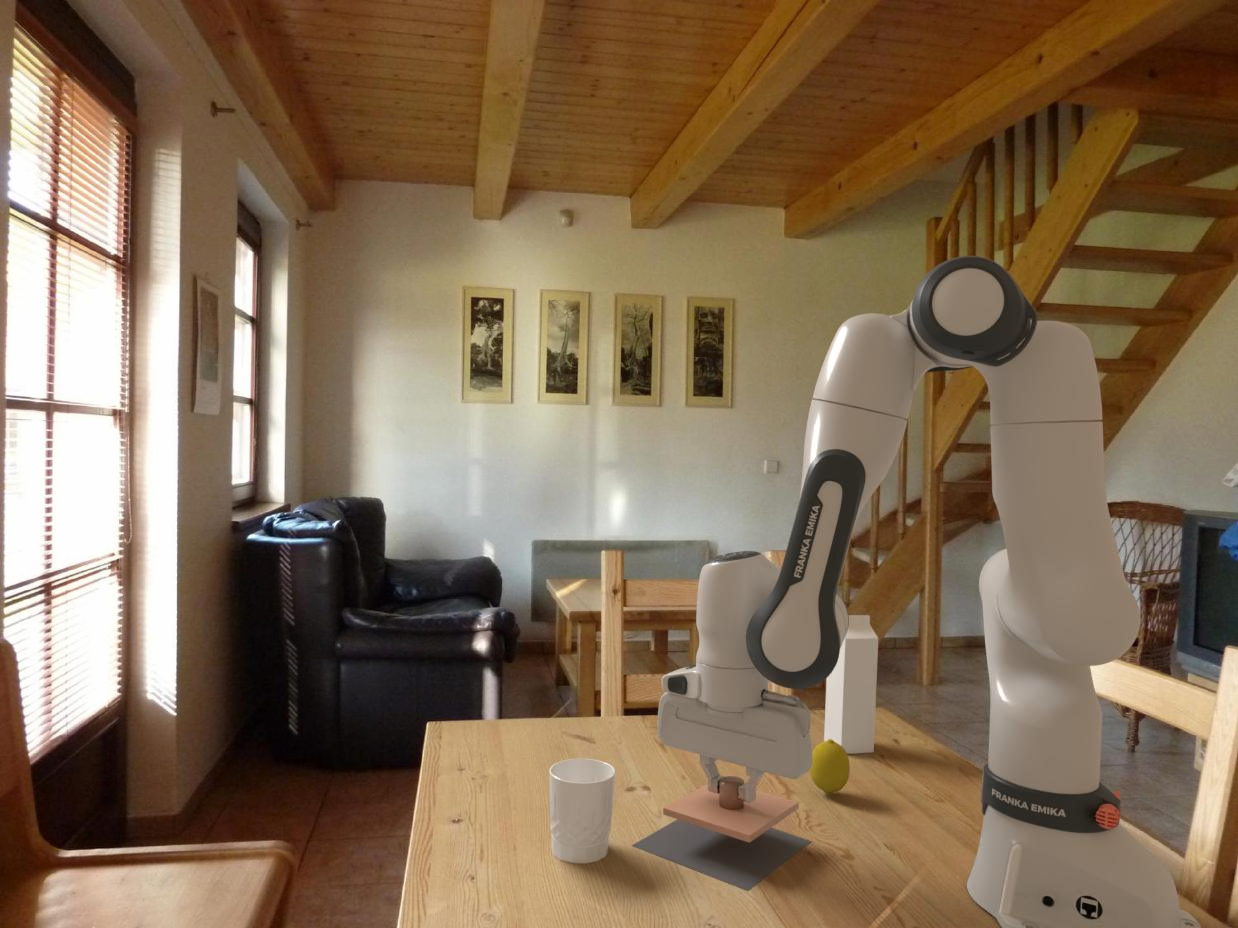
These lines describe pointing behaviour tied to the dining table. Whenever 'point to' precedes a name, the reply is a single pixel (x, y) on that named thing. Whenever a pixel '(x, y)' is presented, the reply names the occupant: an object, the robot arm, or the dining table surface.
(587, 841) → the white cup
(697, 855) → the mat
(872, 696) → the milk
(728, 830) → the lid
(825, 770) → the lemon
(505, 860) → the dining table surface
